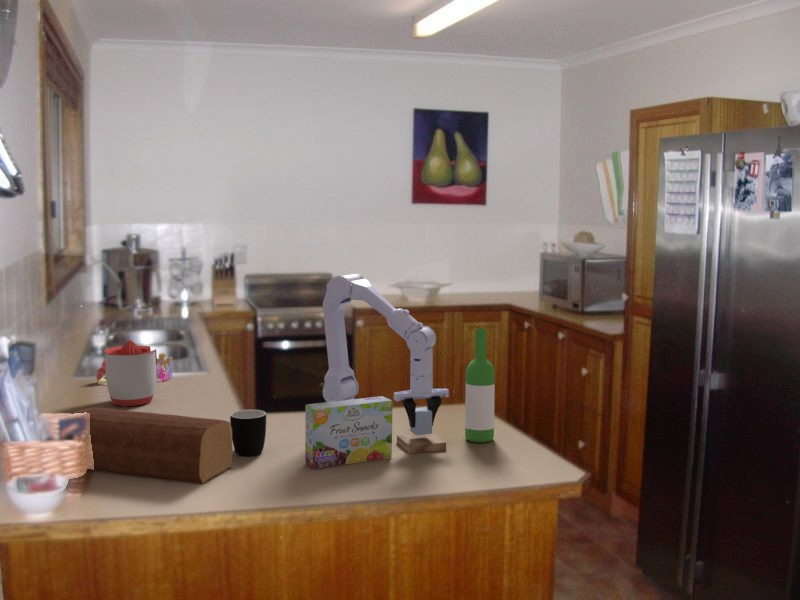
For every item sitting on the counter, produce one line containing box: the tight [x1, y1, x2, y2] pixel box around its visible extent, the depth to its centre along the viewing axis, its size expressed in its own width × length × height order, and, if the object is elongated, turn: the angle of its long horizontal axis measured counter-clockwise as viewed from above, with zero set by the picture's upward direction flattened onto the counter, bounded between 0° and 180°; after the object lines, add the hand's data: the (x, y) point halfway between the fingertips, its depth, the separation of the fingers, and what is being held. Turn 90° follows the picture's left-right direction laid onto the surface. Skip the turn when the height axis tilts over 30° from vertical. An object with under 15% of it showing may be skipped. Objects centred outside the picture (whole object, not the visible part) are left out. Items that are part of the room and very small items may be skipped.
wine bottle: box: [464, 327, 496, 444], centre depth 229 cm, size 8×8×30 cm
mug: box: [229, 409, 267, 457], centre depth 219 cm, size 12×9×10 cm
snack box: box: [304, 395, 394, 470], centre depth 211 cm, size 21×6×15 cm, turn 117°
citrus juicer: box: [103, 339, 162, 408], centre depth 270 cm, size 16×17×20 cm
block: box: [409, 406, 433, 435], centre depth 224 cm, size 4×4×6 cm
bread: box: [69, 406, 234, 485], centre depth 206 cm, size 16×39×13 cm, turn 71°
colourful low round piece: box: [95, 352, 173, 387], centre depth 305 cm, size 25×24×9 cm
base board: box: [396, 431, 447, 455], centre depth 224 cm, size 10×10×2 cm
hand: (421, 425), depth 224 cm, fingers closed on block, 4 cm apart
